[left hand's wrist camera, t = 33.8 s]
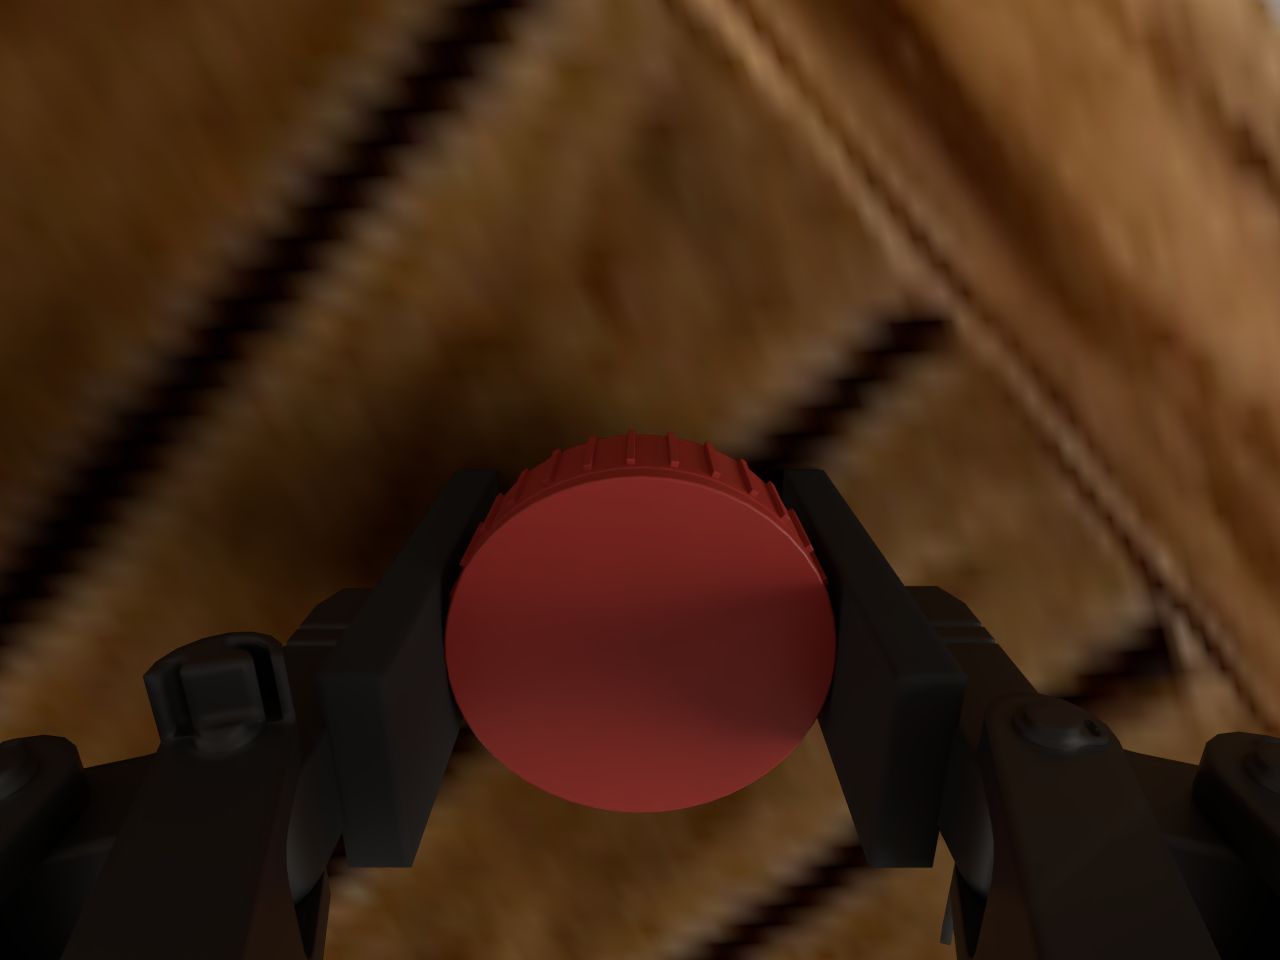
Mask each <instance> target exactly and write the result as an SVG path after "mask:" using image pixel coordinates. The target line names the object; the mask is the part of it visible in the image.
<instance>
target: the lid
mask: <svg viewBox="0 0 1280 960" xmlns="http://www.w3.org/2000/svg"><path fill="white" fill-rule="evenodd" d="M813 550H814V549H813V547H812V545H811V543H810V541H809V539H808V537H807V535H806V533H805V531H804V529H803V527H802V525H801V523H800V521H799V519H798V517H797V515H796V513H795V512H794V510H793V509H790V510H788V511H787V509H786V508H785V506H784V504H783V503H782V501H781V499H780V497H779V495H778V492H777V490H776V488H775V486H774V484H773V483H772V482H771V481H769V482H768V483H767V484H765V483H764V482H763V481H762V480H761V479H760V478H759V477H757V476H756V475H755V474H754V473H753V472H752V471H751V470H749V468H748V466H747V463H746V461H744V460H743V459H741V458H740V459H739V461H738V462H737V461H735V460H734V459H732V458H730V457H728V456H726V455H724V454H722V453H720V452H718V451H716V450H714V449H713V445H712V444H711V443H708V442H705V444H704V446H703V445H700V444H697V443H694V442H691V441H687V440H682V439H677V438H675V434H674V433H669V432H668V433H667V436H656V435H635V430H634V431H628V435H625V436H614V437H609V438H604V439H598V440H597V437H596V436H592V437H589V440H588V442H587V443H584V444H581V445H578V446H575V447H572V448H569V449H567V450H565V451H563V452H561V451H560V449H559V448H558V449H556V450H554V451H553V453H552V456H551V457H550V458H549V459H547V460H546V461H544V462H543V463H541V464H540V465H538V466H536V467H535V468H533V469H532V470H531V471H529V470H528V469H527V468H525V469H524V470H523V471H522V472H521V474H520V477H519V479H518V481H517V483H515V484H514V485H513V487H512V488H511V489H510V490H509V491H508V492H507V493H506V494H505V496H504V495H503V494H501V493H499V495H498V496H497V497H496V499H495V501H494V503H493V505H492V507H491V509H490V511H489V513H488V515H487V517H486V519H485V521H484V523H483V522H480V524H479V526H478V528H477V530H476V532H475V534H474V536H473V538H472V540H471V542H470V544H469V546H468V548H467V550H466V552H465V554H464V556H463V558H462V560H461V562H460V564H459V565H460V566H462V569H461V571H460V573H459V576H458V578H457V580H456V582H455V584H454V586H453V588H452V590H451V592H450V594H449V598H448V600H450V605H449V608H448V612H447V617H446V625H445V633H444V653H445V663H446V669H447V674H448V680H449V683H450V686H451V689H452V692H453V695H454V698H455V701H456V703H457V705H458V707H459V709H460V711H461V713H462V715H463V717H464V719H465V721H466V722H467V724H468V725H469V726H470V728H471V729H472V731H473V732H474V734H475V735H476V737H477V738H478V739H479V740H480V742H481V743H482V744H483V745H484V746H485V747H486V748H487V749H488V750H489V751H490V753H491V754H492V755H493V756H494V757H495V758H497V759H498V760H499V761H500V762H501V763H502V764H504V765H505V766H506V767H507V768H508V769H509V770H511V771H512V772H514V773H515V774H517V775H518V776H520V777H521V778H523V779H524V780H526V781H527V782H529V783H530V784H532V785H534V786H536V787H538V788H540V789H542V790H544V791H546V792H548V793H550V794H552V795H555V796H558V797H560V798H563V799H565V800H568V801H571V802H574V803H578V804H582V805H586V806H589V807H593V808H599V809H605V810H612V811H621V812H639V813H640V812H661V811H669V810H676V809H682V808H688V807H692V806H696V805H699V804H703V803H707V802H710V801H713V800H716V799H718V798H721V797H724V796H726V795H729V794H731V793H733V792H735V791H737V790H739V789H741V788H743V787H745V786H747V785H749V784H751V783H752V782H754V781H755V780H757V779H758V778H760V777H761V776H763V775H765V774H766V773H768V772H769V771H770V770H772V769H773V768H774V767H775V766H776V765H777V764H779V763H780V762H781V761H782V760H783V759H785V758H786V757H787V756H788V755H789V754H790V753H791V752H792V750H793V749H794V748H795V747H796V746H797V745H798V744H799V743H800V742H801V741H802V739H803V738H804V737H805V735H806V734H807V732H808V731H809V729H810V728H811V727H812V725H813V724H814V722H815V720H816V719H817V717H818V715H819V713H820V711H821V709H822V707H823V705H824V703H825V700H826V697H827V695H828V692H829V689H830V686H831V683H832V679H833V674H834V669H835V663H836V651H837V634H836V625H835V616H834V612H833V609H832V605H831V602H830V598H829V594H828V592H827V590H826V587H825V585H828V584H829V583H828V579H827V577H826V575H825V573H824V571H823V569H822V567H821V565H820V563H819V561H818V559H817V557H816V555H815V553H814V551H813Z"/></svg>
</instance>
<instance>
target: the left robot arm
mask: <svg viewBox="0 0 1280 960" xmlns="http://www.w3.org/2000/svg"><path fill="white" fill-rule="evenodd" d="M497 496H498V487H497V473H496V471H456V472H455V473H454V475H453V476H452V478H451V479H450V481H449V482H448V484H447V485H446V486H445V488H444V489H443V491H442V492H441V494H440V495H439V496H438V498H437V499H436V501H435V502H434V504H433V505H432V507H431V508H430V509H429V511H428V512H427V514H426V515H425V517H424V518H423V519H422V521H421V522H420V524H419V525H418V527H417V528H416V530H415V531H414V532H413V534H412V535H411V537H410V538H409V540H408V541H407V542H406V544H405V545H404V547H403V548H402V550H401V551H400V553H399V554H398V555H397V557H396V558H395V560H394V561H393V563H392V564H391V565H390V567H389V568H388V570H387V571H386V573H385V574H384V576H383V577H382V578H381V580H380V581H379V583H378V584H377V586H376V587H375V588H374V589H342V590H340V591H339V592H337V593H336V594H334V595H333V596H331V597H329V598H328V599H326V600H325V601H323V602H321V603H320V604H318V605H317V606H316V607H315V608H314V609H313V610H312V612H311V613H310V614H309V615H308V617H307V618H306V619H305V620H304V622H303V623H302V624H301V625H300V629H297V630H296V631H295V633H294V634H293V635H292V636H291V638H290V639H289V640H288V641H287V646H283V647H282V644H281V643H280V642H279V641H277V640H276V639H275V638H273V637H272V636H271V635H266V634H261V633H256V632H235V633H225V634H221V635H216V636H212V637H207V638H203V639H200V640H198V641H195V642H192V643H190V644H187V645H185V646H182V647H180V648H177V649H176V650H174V651H172V652H171V653H169V654H168V655H166V656H164V657H163V658H161V659H160V660H158V661H156V662H155V663H154V664H153V666H152V667H151V668H150V669H149V670H148V671H147V672H146V673H145V674H144V675H143V679H144V682H145V686H146V689H147V693H148V697H149V700H150V704H151V707H152V711H153V715H154V718H155V722H156V725H157V729H158V732H159V736H160V740H161V743H160V745H159V747H158V750H157V752H156V753H153V754H149V755H146V756H141V757H137V758H132V759H127V760H122V761H117V762H112V763H107V764H103V765H98V766H93V767H88V768H83V765H82V762H81V759H80V756H79V753H78V750H77V747H76V745H74V744H73V743H71V742H70V741H69V740H67V739H66V738H65V737H58V736H49V735H39V736H31V737H24V738H17V739H12V740H8V741H4V742H2V743H0V960H323V955H324V947H325V938H326V930H327V921H328V913H329V904H330V896H331V895H330V888H329V881H328V875H327V870H326V865H327V863H328V860H329V858H330V856H331V854H332V852H333V850H334V848H335V846H336V844H337V842H338V840H339V837H340V835H341V833H342V834H343V840H344V845H345V851H346V856H347V862H348V867H412V864H413V861H414V858H415V856H416V853H417V850H418V847H419V844H420V841H421V838H422V835H423V833H424V830H425V827H426V824H427V821H428V818H429V815H430V812H431V809H432V807H433V804H434V801H435V798H436V795H437V792H438V789H439V786H440V784H441V781H442V778H443V775H444V772H445V769H446V766H447V763H448V761H449V758H450V755H451V752H452V749H453V746H454V743H455V740H456V738H457V735H458V732H459V729H460V726H461V723H462V720H463V715H462V713H461V711H460V709H459V707H458V705H457V703H456V701H455V698H454V695H453V692H452V689H451V686H450V683H449V680H448V674H447V669H446V663H445V653H444V633H445V625H446V617H447V612H448V608H449V605H450V600H448V598H449V594H450V592H451V590H452V588H453V586H454V584H455V582H456V580H457V578H458V576H459V573H460V571H461V569H462V566H460V565H459V564H460V562H461V560H462V558H463V556H464V554H465V552H466V550H467V548H468V546H469V544H470V542H471V540H472V538H473V536H474V534H475V532H476V530H477V528H478V526H479V524H480V522H483V523H484V521H485V519H486V517H487V515H488V513H489V511H490V509H491V507H492V505H493V503H494V501H495V499H496V497H497ZM782 503H783V504H784V506H785V508H786V509H787V511H788V510H790V509H793V510H794V512H795V513H796V515H797V517H798V519H799V521H800V523H801V525H802V527H803V529H804V531H805V533H806V535H807V537H808V539H809V541H810V543H811V545H812V547H813V549H814V550H813V551H814V553H815V555H816V557H817V559H818V561H819V563H820V565H821V567H822V569H823V571H824V573H825V575H826V577H827V579H828V583H829V584H828V585H825V587H826V590H827V592H828V594H829V598H830V602H831V605H832V609H833V612H834V616H835V625H836V634H837V651H836V663H835V669H834V674H833V679H832V683H831V686H830V689H829V692H828V695H827V697H826V700H825V703H824V705H823V707H822V709H821V711H820V713H819V715H818V717H817V719H818V722H819V724H820V727H821V730H822V733H823V736H824V739H825V742H826V744H827V747H828V750H829V753H830V756H831V759H832V762H833V764H834V767H835V770H836V773H837V776H838V779H839V782H840V784H841V787H842V790H843V793H844V796H845V799H846V802H847V805H848V807H849V810H850V813H851V816H852V819H853V822H854V825H855V827H856V830H857V833H858V836H859V839H860V842H861V845H862V847H863V850H864V853H865V856H866V859H867V862H868V865H869V867H870V868H932V867H933V862H934V856H935V851H936V845H937V840H938V835H939V830H940V832H941V834H942V836H943V838H944V840H945V842H946V844H947V846H948V848H949V851H950V853H951V855H952V857H953V859H954V861H955V865H954V870H953V875H952V880H951V886H950V891H949V896H948V901H947V906H946V911H945V916H944V921H943V926H942V933H941V939H940V943H944V944H948V945H950V944H951V939H952V934H953V929H954V936H955V945H956V953H957V960H1280V738H1275V737H1271V736H1267V735H1259V734H1252V733H1245V732H1232V733H1224V734H1217V735H1216V736H1215V737H1213V738H1212V739H1211V740H1209V741H1208V742H1207V743H1206V745H1205V748H1204V751H1203V754H1202V757H1201V760H1200V764H1199V765H1194V764H1189V763H1184V762H1179V761H1174V760H1169V759H1165V758H1160V757H1155V756H1150V755H1145V754H1140V753H1136V752H1132V751H1128V750H1125V749H1123V748H1122V746H1121V744H1120V742H1119V740H1118V739H1117V738H1116V736H1115V735H1114V734H1113V732H1112V731H1111V730H1110V728H1109V727H1108V726H1107V725H1106V724H1105V723H1103V722H1102V721H1101V720H1099V719H1098V718H1097V717H1095V716H1094V715H1092V714H1091V713H1090V712H1088V711H1087V710H1085V709H1083V708H1080V707H1078V706H1076V705H1074V704H1072V703H1069V702H1067V701H1065V700H1063V699H1059V698H1055V697H1051V696H1047V695H1043V694H1039V693H1038V692H1037V691H1036V690H1035V688H1034V687H1033V686H1032V685H1031V684H1030V682H1029V681H1028V680H1027V679H1026V677H1025V676H1024V675H1023V674H1022V673H1021V671H1020V670H1019V669H1018V668H1017V666H1016V665H1015V664H1014V663H1013V662H1012V660H1011V659H1010V658H1009V657H1008V655H1007V654H1006V653H1005V652H1004V651H1003V649H1002V648H1001V647H1000V646H999V644H995V642H994V638H993V637H992V636H991V635H990V634H989V632H988V631H987V630H986V629H985V627H981V623H980V621H979V620H978V619H977V618H976V616H975V615H974V614H973V613H972V612H971V610H970V609H969V608H968V607H967V605H966V604H965V603H964V602H962V601H960V600H959V599H957V598H955V597H954V596H952V595H951V594H949V593H947V592H946V591H944V590H943V589H941V588H939V587H938V586H904V585H903V583H902V582H901V580H900V579H899V577H898V576H897V575H896V573H895V572H894V570H893V569H892V567H891V566H890V565H889V563H888V562H887V560H886V559H885V557H884V556H883V555H882V553H881V552H880V550H879V549H878V547H877V546H876V544H875V543H874V542H873V540H872V539H871V537H870V536H869V534H868V533H867V532H866V530H865V529H864V527H863V526H862V524H861V523H860V522H859V520H858V519H857V517H856V516H855V514H854V513H853V512H852V510H851V509H850V507H849V506H848V504H847V503H846V502H845V500H844V499H843V497H842V496H841V494H840V493H839V492H838V490H837V489H836V487H835V486H834V484H833V483H832V481H831V480H830V479H829V477H828V476H827V474H826V473H825V471H824V470H784V475H783V489H782Z"/></svg>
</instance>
